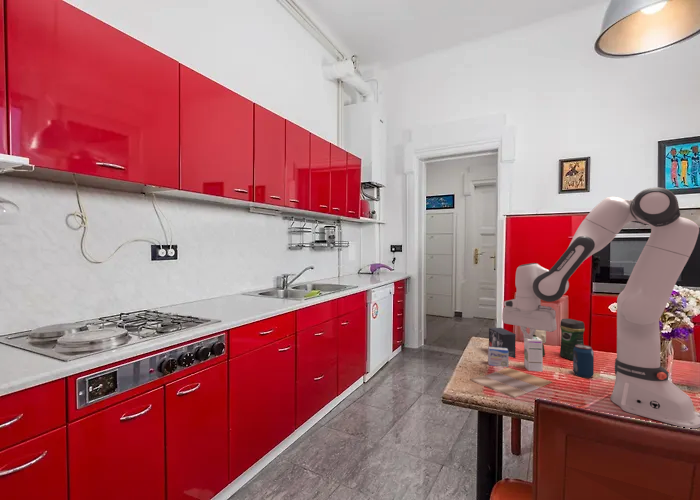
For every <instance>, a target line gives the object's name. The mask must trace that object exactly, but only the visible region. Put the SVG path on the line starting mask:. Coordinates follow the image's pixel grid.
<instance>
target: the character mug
mask: <svg viewBox="0 0 700 500" xmlns="http://www.w3.org/2000/svg"><path fill="white" fill-rule="evenodd" d="M530 332H531V331H530V330H529V333H528V334H530ZM533 337H538V338H539V339H541V340H542V354H543V356H545V355H546V353H545V345H544V344H546V343H547V331H543V330H538V329H536V331H535V333H534V334H533Z"/></svg>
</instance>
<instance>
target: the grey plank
mask: <svg viewBox="0 0 700 500" xmlns="http://www.w3.org/2000/svg"><path fill="white" fill-rule="evenodd" d="M484 377H487V378H490V379H492V380H495V381H498V382H501V383H503V384H506V385H509V386H511V387H514V388H517V389H519V390H522V391H525V392H528V393H531V392H533V391H535V390H537V389H541V387H538V386H535V385H533V384H530V383H527V382H524V381H521V380H518V379H515V378H512V377H509V376H507V375H504V374H501V373H498V372H497V371H494V372H492V373H489V374H485V375H484Z"/></svg>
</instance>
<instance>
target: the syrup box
mask: <svg viewBox="0 0 700 500" xmlns="http://www.w3.org/2000/svg"><path fill="white" fill-rule="evenodd" d="M523 343H524V345H523V350H524V351H523V352H524V353H523V355H524V356H523V357H524V358H523V360H524V361H523V362H524V363H523V364H524V365H523V366H524V367H525V369H526V370H527V371H529V372H543V370H544V369H543V367H544V366H543V362H544V361H543V360H544V359H543V354H542V340H541V339H539V338H538V337H533V339H526V338H524V337H523Z"/></svg>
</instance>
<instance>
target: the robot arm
mask: <svg viewBox="0 0 700 500" xmlns="http://www.w3.org/2000/svg"><path fill="white" fill-rule="evenodd" d="M581 221H582V222H581V223H580V224H579V226H578V227H577V229H576V231H575V233H574V234H573V236H572V239H571V241H570V242H569V245H568V247H567V249H566V250H564V253H563V254H562V255H561V256H560V257H559V259H558V260H557V261H556V262H555V263H554V265H553V266H552V267H551V268H550V269H547V268H545V267H543V266H541V265H540V264H539V263H537V262H536V263H535V262H531V263H525V264H521V265H519V266H518V267H517V268H516V271H515V283H514V284H515V288H516V292H515V297H514V298H511V299H509V300H504V301H503V306H504V307H503V309H502V313H501V314H502V315H501V316H502V318H501V319H502V322H503V323H504V324H506V325H513V326H517V327H520V330H521V332H522V334H523V339H524V338H526V339H533V334H534V333H535V331H536V329H538V330H543V331H546V332H549V333H551V332H555V331H556V330H557V328H558V327H557V326H558V325H557V320H556V317H557V316H556V315H557V314H556V310H555V308H553V307H551V306H545V305H542V304H541V303H542V302H543V301H544V302H549V303H550V302H551V303H552V302H556V301H559V300H560V299H562V297H563V296H564V295H565V294H566V293H567V291H568V290H569V288H570V282H569V279H570V278H571V276H572V275H573V274H574V273H575V272H576V271H577V269H578V268H579V267H580V266H581V265H582V263H583V262H584V261H585V260H587V259H588V258H590V257H591V256H593V255H594V254H596V253H598V252H600V251H601V250H603V249H604V248H605V247H607V246H608V245H609V243H611V242H613V240H614V239H615V238H616V237H617V235H618V234H619V233H620V231H621V230H623V228H624V227H625V226H626V225H628V224H629V223H630V222H631V223H637V224H641V225H649V227H650V231H651V232H650V235H649V237H648V240H647V241H646V243H645V245H644V247H643V249H642V251H641V253H640V255H639V257H638V259H637V261H636V263H635V265H634V266H633V268H632V271H631V273H630V275H629V278H628V280H627V282H626V285H625V287H624V288H623V290H622V291H620V293H619V294H618V296H617V299H616V358H615V360H614V374H615V381H614V386H613V391H612V393H611V395H610V401H611V402H613V403H614V404H615V405H616V406H618V407H620V409H621V410H623V412H626V413H630V414H633V415H637V416H641V417H643V418H644V417H645V418H648V419H651V420H656V421H659V422H663V423H665V424H670V425H673V426H677V427H680V428H683V427H685V428H684V429H688V428H692V429H699V428H700V412H697V411H696V410H695V407H694V404H693V400H692V398H691V397H690V395H688V394H687V393H686V392H684V391H683V390H682V389H681V388H679V386H677V385H675V384H674V383H673V382H672V381H670V380H669V375H670V369H665V368H664V367H663V366H661V333H660V331H661V330H660V319H661V317H662V315H663V313H664V311H665V308H666V306H667V305H668V302H669V301H670V298H671V296H672V293H673V291H674V288H675V286H676V284H677V281H678V280H679V277H680V275H681V274H682V272H683V270H684V267H686V265H687V262H688V261H689V259H690V257H691V254H692V253H693V251H694V249H695V246H696V243H697V240H698V237H699V234H700V227H699V225H698V224H697V223H696V222H695V221H693V220H692V219H689V218H687V217H682V216H681V211H680V207H679V201H678V198H677V196H676V194H674V193H673V192H672V191H671V190H669V189H667V188H665V187H658V186H657V187H655V186H654V187H649V188H646V189H643V190H641V191H640V192H639V193H637V194H636V195H635V197H634V198H633V199H624V198H622V197H619V196H608V197H604V199H602V200H601V201H599V203H598V204H596V206H595V207H594V208H593V209H592V210H591V211H590V212H589V213H587V215H586V217H584V219H583V220H581ZM541 300H542V301H541ZM527 328H528V329H529V332H530V331H531V332H530V333H528V332H527Z"/></svg>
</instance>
